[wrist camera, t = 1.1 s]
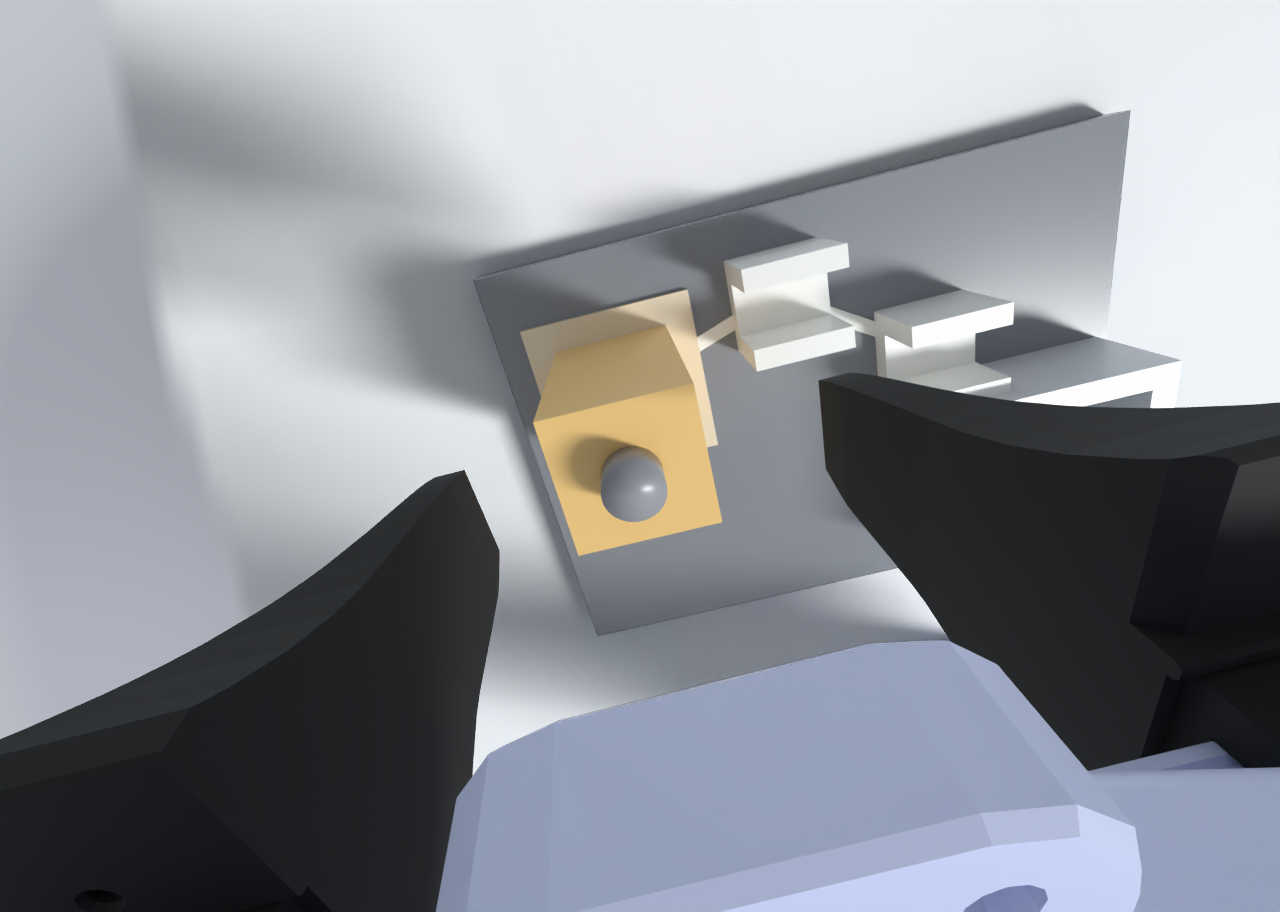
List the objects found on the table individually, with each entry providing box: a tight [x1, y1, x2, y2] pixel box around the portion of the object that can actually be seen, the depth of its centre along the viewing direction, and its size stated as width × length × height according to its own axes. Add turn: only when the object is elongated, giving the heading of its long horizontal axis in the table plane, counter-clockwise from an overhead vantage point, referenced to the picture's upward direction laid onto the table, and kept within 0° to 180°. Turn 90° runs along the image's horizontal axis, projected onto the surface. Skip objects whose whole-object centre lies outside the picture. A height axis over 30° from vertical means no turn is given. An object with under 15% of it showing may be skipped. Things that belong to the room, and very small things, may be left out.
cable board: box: [474, 110, 1182, 636], centre depth 21 cm, size 16×22×4 cm
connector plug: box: [533, 325, 722, 556], centre depth 17 cm, size 4×4×8 cm
